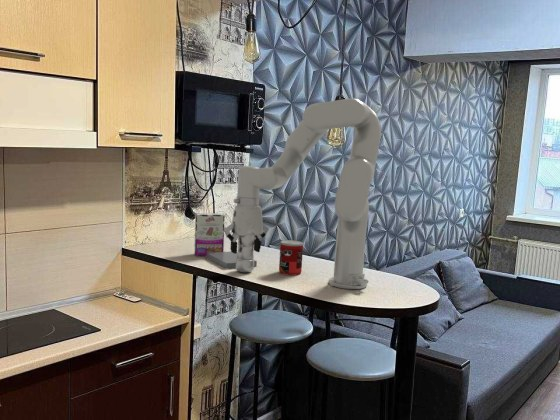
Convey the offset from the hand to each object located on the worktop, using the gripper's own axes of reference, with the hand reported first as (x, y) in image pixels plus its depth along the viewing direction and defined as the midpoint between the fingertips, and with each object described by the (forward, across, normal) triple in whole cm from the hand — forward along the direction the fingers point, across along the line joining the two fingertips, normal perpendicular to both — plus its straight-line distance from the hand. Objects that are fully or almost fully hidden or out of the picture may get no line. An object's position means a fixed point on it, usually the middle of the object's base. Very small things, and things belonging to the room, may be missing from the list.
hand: (245, 251), depth 189 cm
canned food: (+7, +15, -6) cm, 18 cm away
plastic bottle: (+7, 0, 0) cm, 7 cm away
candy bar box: (+7, -1, +29) cm, 30 cm away
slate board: (+7, +2, +15) cm, 17 cm away
